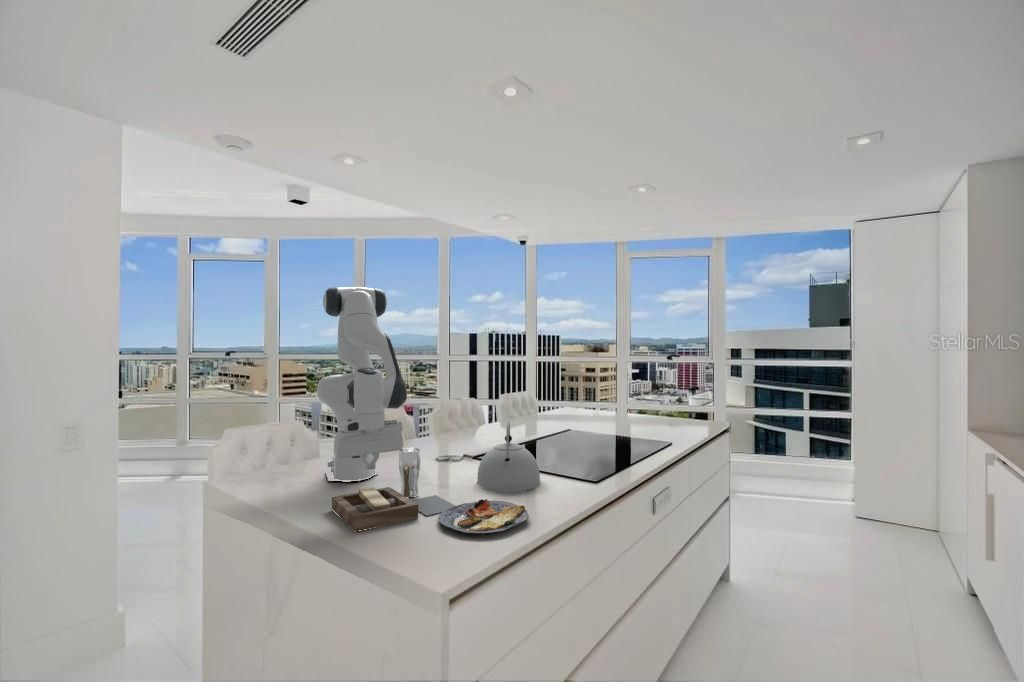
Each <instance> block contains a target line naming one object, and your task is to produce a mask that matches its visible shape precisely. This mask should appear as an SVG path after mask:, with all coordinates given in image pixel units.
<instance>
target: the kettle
mask: <svg viewBox="0 0 1024 682" xmlns="http://www.w3.org/2000/svg"><path fill="white" fill-rule="evenodd" d="M504 440H505V442H504V443H500V444H497V445H495V446H494V447H492V448H491V449H489V450H488V451H487V452H486V453H485V454H484V456H483V457H482V458H481V460H480V462H479V465H478V468H477V469H478V470H477V480H476V481H477V482H476V484H477V483H478V484H477V485H479V487H480V486H481V487H480V488H482V487H483V488H482V489H484V488H485V489H484V490H488V489H489V491H495V492H521V491H520V490H522V491H527V489H528V490H531V488H532V489H535V488H536V486H537V487H539V486H540V485H541V477H540V476H541V475H540V467H539V465H538V462H537V459H536V458H535V457H534V455H533V454H532V453H531V451H529V450H528V449H527V448H525V447H524V446H523V445H521V444H518V443H513V442H512V440H513V437H512V435H511V421H510V419H509V418H508V419H507V420H506V435H505V437H504ZM511 442H512V443H511ZM534 487H535V488H534Z"/></svg>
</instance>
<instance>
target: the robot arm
mask: <svg viewBox="0 0 1024 682" xmlns="http://www.w3.org/2000/svg"><path fill="white" fill-rule="evenodd" d="M387 305H388V299H387V296H386V293H385V292H384V290H383V289H380V288H376V287H374V288H371V287H364V286H363V287H362V286H347V287H346V286H345V287H338V286H335V287H334V286H333V287H329V288H327V289H326V290H325V293H324V294H323V297H322V306H323V309H324V311H325V314H327V315H328V316H331V317H335V318H337V317H339V319H338V326H337V357H338V359H339V360H340V361H341V362H342V363H344V364H346V365H348V366H351V367H352V369H353V373H343V374H341V373H340V374H332V375H327V376H324V377H322V378H321V379H320V380H319V382H318V384H317V386H316V395H317V397H318V398H319V400H320V401H321V402H322V403H323V404H324V405H325V406H327V407H328V408H329V409H331V411H332V412H333V414H334V416H335V419H336V424H337V427H336V428H337V432H336V434H335V437H334V441H333V456H332V457H331V460H328V461H327V468H330V469H331V472H333V475H334V479H339V480H358V479H364V478H367V477H370V476H372V475H373V474H375V473H377V472H378V473H379V471H378V470H375V469H376V463H377V462H378V460H379V458H380V454H381V453H382V454H383V453H388V452H396V451H399V450H401V449H404V448H403V447H404V439H403V424H402V422H401V421H399V420H398V419H393V420H385V409H399V408H400V407H402V405H404V404H405V403H406V401H407V398H408V397H407V396H408V389H407V386H406V383H405V380H404V378H403V375H402V373H401V369H400V366H399V363H398V359H397V355H396V353H395V350H394V346H393V344H392V341H391V339H390V337H389V335H388V334H387V333H385V332H384V331H383V330H382V329H381V328H380V326H379V324H378V318H379V317H381V316H382V315H384V314H385V312H386V309H387V308H388V307H387ZM370 352H371V353H374V354H375V355H378V356H379V357H380V358H381V360H382V362H383V363H382V364H383V367H384V371H385V373H386V377H385V376H384V375H383V373H382V370H381V369H379V368H377V367H376V368H375V367H374V365H373V362H372V360H371V357H370Z"/></svg>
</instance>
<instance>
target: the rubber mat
mask: <svg viewBox="0 0 1024 682" xmlns="http://www.w3.org/2000/svg"><path fill="white" fill-rule="evenodd" d="M411 500H412V501H413V502H415V503H417V504H418V511H419V512H418V513H420V512H421V513H422V515H423V516H424V515H425V516H424V517H426V518H427V517H431V515H432V516H435V515H440V514H441V513H442V512H443V511H445V510H448V509H450V508H453V507H455V506H456V505H455V504H454V503H451V502H449V501H447V500H446V499H444V498H443V497H440V496H438V495H436V494H433V495H430V496H424V497H419V498H415V499H411ZM421 513H420V514H421Z"/></svg>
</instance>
